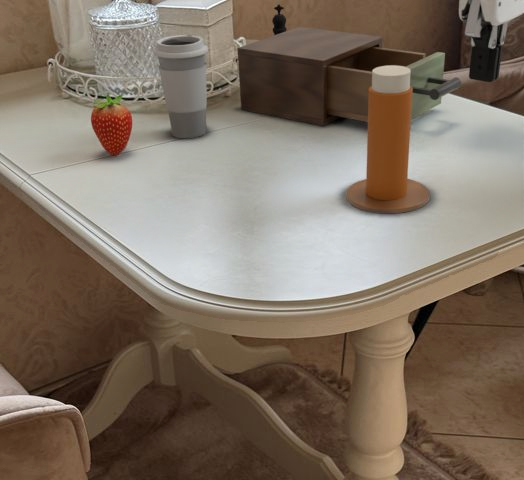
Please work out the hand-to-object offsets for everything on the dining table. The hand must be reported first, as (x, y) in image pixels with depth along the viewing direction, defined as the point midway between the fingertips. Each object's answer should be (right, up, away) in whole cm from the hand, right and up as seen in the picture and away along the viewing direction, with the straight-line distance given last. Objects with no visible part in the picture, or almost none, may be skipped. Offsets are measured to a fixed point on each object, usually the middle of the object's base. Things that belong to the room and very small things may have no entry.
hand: (483, 78), depth 98 cm
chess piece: (-24, +14, +35) cm, 45 cm away
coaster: (-14, -17, -11) cm, 24 cm away
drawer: (-10, -1, +11) cm, 15 cm away
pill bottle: (-14, -16, -11) cm, 24 cm away
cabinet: (-20, +3, +18) cm, 27 cm away
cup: (-37, -4, +10) cm, 39 cm away
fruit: (-46, -8, +4) cm, 47 cm away
